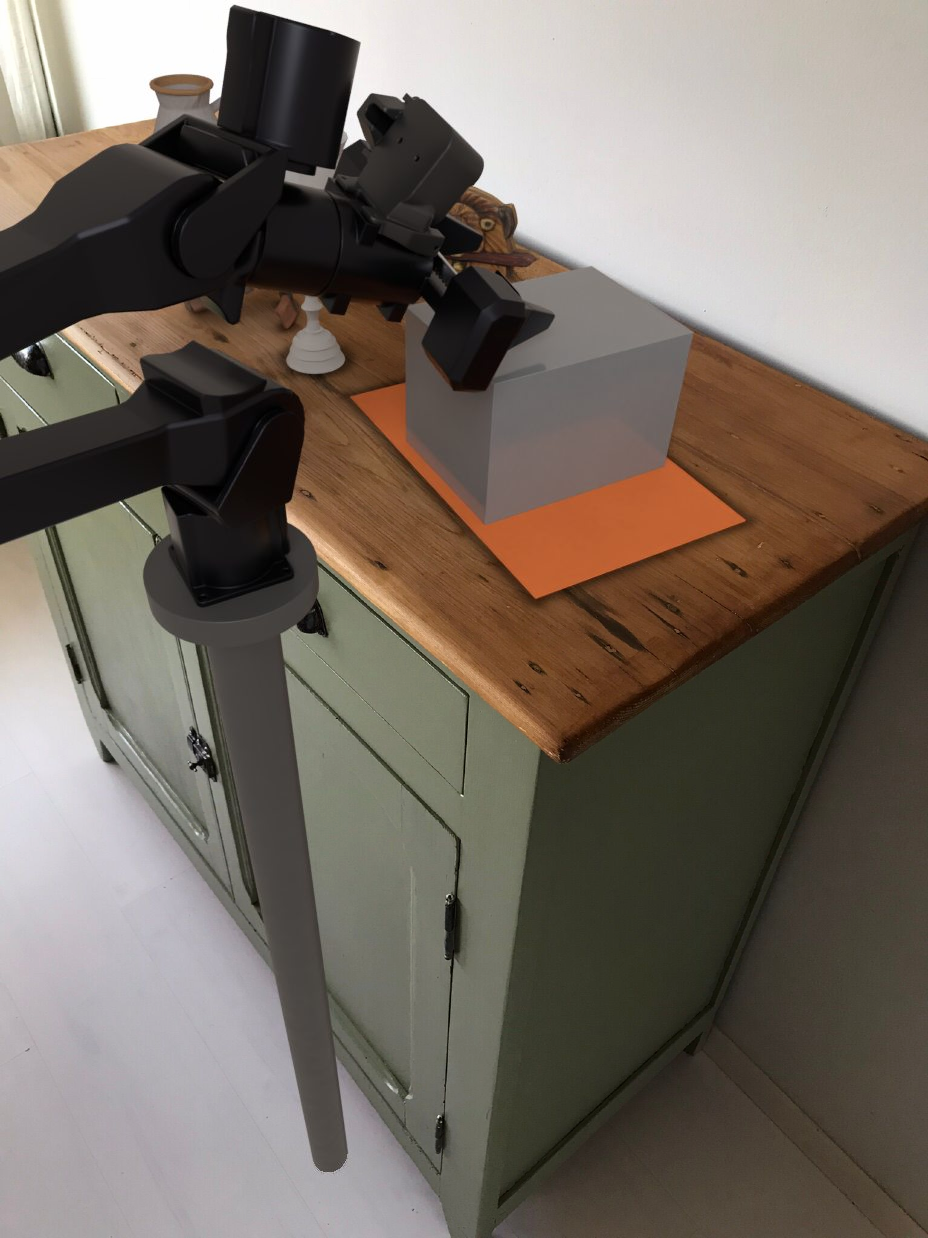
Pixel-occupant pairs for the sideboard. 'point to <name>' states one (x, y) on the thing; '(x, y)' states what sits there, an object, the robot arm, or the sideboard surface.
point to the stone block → (553, 399)
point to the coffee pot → (183, 98)
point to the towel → (574, 515)
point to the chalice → (314, 305)
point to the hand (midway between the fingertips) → (514, 280)
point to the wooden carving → (490, 234)
